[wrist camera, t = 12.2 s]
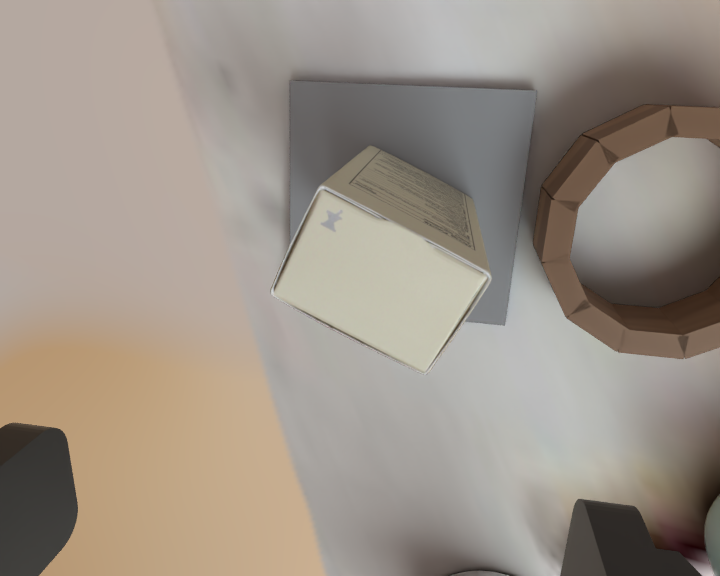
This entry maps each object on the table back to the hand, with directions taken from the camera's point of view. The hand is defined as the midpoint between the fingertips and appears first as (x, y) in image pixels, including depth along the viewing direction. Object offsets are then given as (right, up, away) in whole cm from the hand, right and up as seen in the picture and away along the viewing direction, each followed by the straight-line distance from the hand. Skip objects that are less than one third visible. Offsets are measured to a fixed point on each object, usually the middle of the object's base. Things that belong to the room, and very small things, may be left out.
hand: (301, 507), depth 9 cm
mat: (+3, +8, +21) cm, 23 cm away
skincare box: (+3, +8, +21) cm, 22 cm away
